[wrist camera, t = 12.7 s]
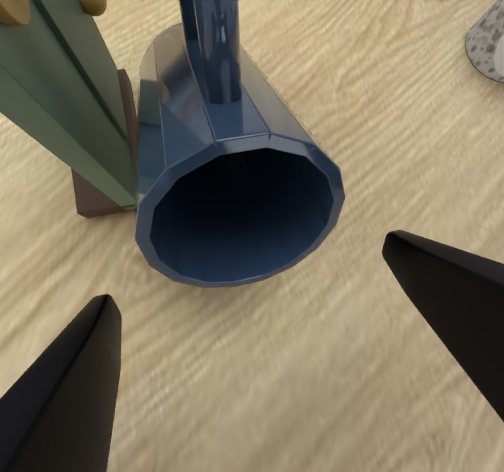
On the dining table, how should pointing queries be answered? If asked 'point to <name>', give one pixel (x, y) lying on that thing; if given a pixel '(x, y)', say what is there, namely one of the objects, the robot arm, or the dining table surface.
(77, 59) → the door
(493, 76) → the mug
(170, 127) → the mug
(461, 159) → the dining table surface
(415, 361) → the dining table surface
